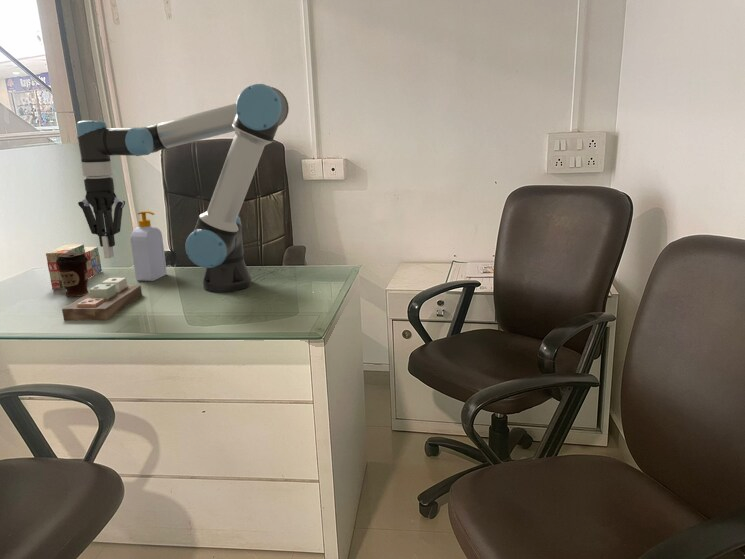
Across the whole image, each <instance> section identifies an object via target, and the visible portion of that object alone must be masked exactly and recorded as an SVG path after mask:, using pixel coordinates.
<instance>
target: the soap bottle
mask: <svg viewBox="0 0 745 559" xmlns="http://www.w3.org/2000/svg"><path fill="white" fill-rule="evenodd" d="M147 214H149V215H152V216H154V215H155V212H152V211H149V210H145V211H141V212H138V213H137V215H141V219H140V220H138V223H139V226H137V227H135V228H134V229H133V230H132V232H131V234H130V245H131V252H132V254H131V255H132V260H133V267H134V274H135V280H136V281H141V282H142V281H145V282H147V281H148V282H155V281H156V280H159V279H160V278H162V277H164V276H167V273H168V272H167V271H168V270H167V264H166V256H165V255H166V254H165V246H164V241H163V240H164V238H163V234H162V230H160V228H158V227H156V226H155V227H153V226H152V224H151V219H147Z"/></svg>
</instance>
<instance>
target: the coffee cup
mask: <svg viewBox="0 0 745 559" xmlns="http://www.w3.org/2000/svg"><path fill="white" fill-rule="evenodd" d="M87 261H88V258H87V257H86V256H85V255H84V253H82V252H76V253H66V254H60V255H58V259H57V261H56V263H57V265H58V266H59V272H60V276H61V279H62V282H63V286H64V287H65V288H66V289H65V291H66V292H65V296H66V297H69V298H70V297H73V298H74V297H81V296H82V297H83V296H85V295H87V294H89V293H90V291H89V290H88V281H89V279H88V270H87Z"/></svg>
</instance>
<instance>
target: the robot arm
mask: <svg viewBox="0 0 745 559" xmlns="http://www.w3.org/2000/svg"><path fill="white" fill-rule="evenodd" d="M289 109H290V108H289V101H288V100H287V97H286V96H285V94H284V93H283V92H281V91H280V90H279V89H277V88H276V87H273V86H270V85H266V84H265V83H263V84H262V83H255V84H252V85H249V86H247V87H245V88H244V89H243V90H242V91H241V92H240V93H239V95H238V96H237V99H236V103H233V104H227V105H225V106H221V107H217V108H216V107H215V108H212V109H210V110H206V111H202V112H198V113H194V114H191V115H186V116H183V117H179V118H175V119H172V120H167V121H163V122H159V123H155V124H152V125H147V126H143V127H142V126H141V127H114V128H113V127H112V128H111V127H107V124H106V122H105V121H104V120H80V121H78V122H77V123H76V135H77V137H76V139H77V142H78V148H79V154H80V164H81V169H82V175H83V177H85V178H84V179H83V183H84V190H85V193H86V194H85V197H84V199H82V201H81V200H80V201H78V202H77V205H78V206H79V207H80V209H81V210H82V212H83V214H84V217H85V220H86V222H87V224H88V225H87V226H88V227H89V230H90V232H91V234H93V235H97V237H98V240H99V246H100V247H102V249H103V250H102V251H103V254H104V255H103V256H104V259H112V258H113V257H115V255H114V254H115V253H114V247H115V246H116V242H115V235H116V234H118V233H120V232H121V226H122V218H123V217H122V216H123V208H124V207H125V205H126V201H125V200H121V199H120V198H118V197H117V194H116V193H115V184H114V178H113V177H112V175H113V170H112V168H113V167H112V163H111V156H113V157H114V156H133V157H134V156H135V157H140V156H149V155H151V154H154V153H157V152H159V151H162V150H166V149H169V148H174V147H177V146H181V145H185V144H190V143H194V142H198V141H201V140H206V139H209V138H212V137H213V138H214V137H216V136H221V135H225V134H229V133H233V132H234V137H233V139H232V142H231V144H230V147H229V150H228V152H227V155H226V157H225V161H224V163H223V167H222V169H221V171H220V174H219V177H218V180H217V183H216V185H215V188H214V190H213V193H212V196H211V199H210V202H209V204H208V207H207V209H206V210H205V211H204V212H202V213H200V214H199V215H198V218H197V221H196V223H195V226H194V229H193V231H192V232H191V233H190V234H189V235H188V236H187V238H186V240H185V246H184V248H185V252H186V253H185V254H186V256H187V257H188V259H189V260H190V261H191V262H192V263H193V264H194V265H195V266H198V267H200V268H204V269H205V270H204V276H203V279H202V280H203V281H202V285H203V289H204V290H206V291H209V292H215V293H219V292H220V293H223V292H224V293H227V292H235V290H236V291H239V289H240V290H243V288H244V289H246V288H249V287H250V286H251V285H252V277H251V273H250V272H249V270H248V267H247V265H246V263H245V258H244V256H245V255H244V245H243V244H244V243H243V233H242V232H243V231H242V228H243V225H242V222H241V217H240V216H239V214H240V212H241V208H242V206H243V204H244V201H245V198H246V196H247V193H248V191H249V188H250V185H251V183H252V180H253V178H254V175H255V172H256V169H257V167H258V165H259V162H260V159H261V156H262V154H263V152H264V148H265V146H267V145H269V144H272V143H273V141H274V139H275V136H276V133H277V130H278V128H279V127H280V126H282V125H283V123H285V121H286V120H287V118H288V114H289V111H290V110H289ZM113 205H114V212H113V208H112V207H113ZM92 209H93V210H92ZM112 212H113V213H112ZM250 284H251V285H250ZM249 285H250V286H249ZM245 287H246V288H245Z"/></svg>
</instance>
